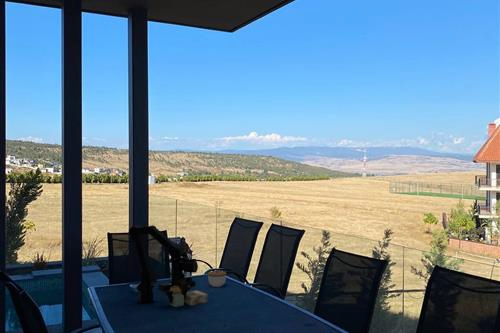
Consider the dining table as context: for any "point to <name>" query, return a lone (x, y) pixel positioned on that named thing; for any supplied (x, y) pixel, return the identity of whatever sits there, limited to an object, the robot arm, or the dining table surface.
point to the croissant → (175, 289)
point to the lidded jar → (217, 278)
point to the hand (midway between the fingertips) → (177, 302)
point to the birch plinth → (195, 297)
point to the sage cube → (177, 300)
